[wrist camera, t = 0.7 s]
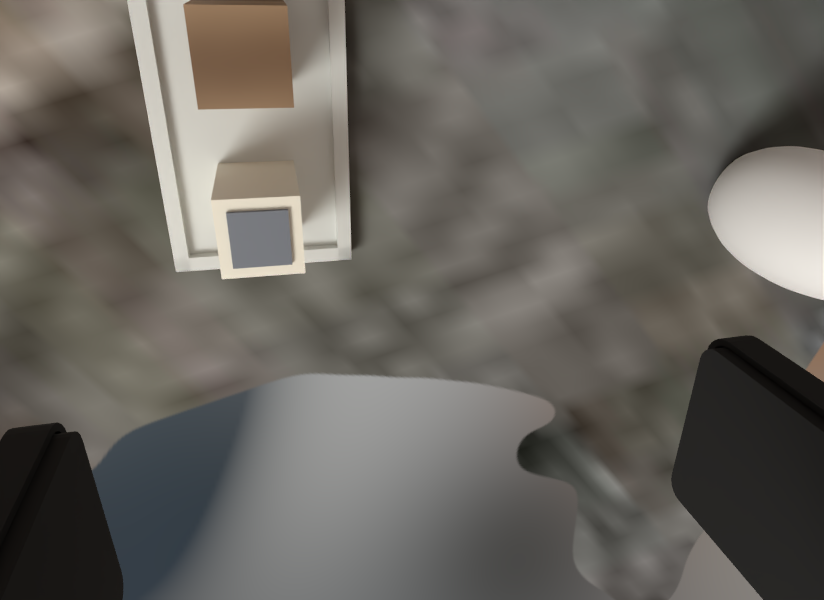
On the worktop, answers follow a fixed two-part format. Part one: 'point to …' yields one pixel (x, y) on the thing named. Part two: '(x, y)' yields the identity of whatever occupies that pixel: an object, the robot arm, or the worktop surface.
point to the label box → (258, 219)
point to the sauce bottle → (774, 215)
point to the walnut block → (240, 53)
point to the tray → (248, 129)
